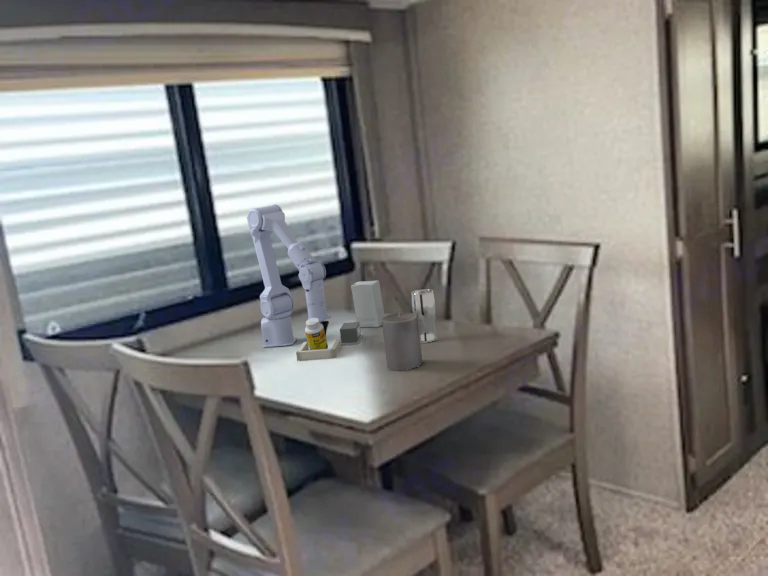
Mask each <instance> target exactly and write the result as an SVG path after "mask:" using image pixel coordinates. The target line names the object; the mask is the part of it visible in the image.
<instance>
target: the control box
mask: <svg viewBox="0 0 768 576" xmlns="http://www.w3.org/2000/svg"><path fill="white" fill-rule="evenodd" d="M339 335H340V340H341V347H342V346H343V347H344V346H354V345H355V346H356V345H360V343H361V341H362V339H363V337H364V334H361V327H360V324H359V322H357V321H351V322H343V323H342V325H341V326H340V329H339Z"/></svg>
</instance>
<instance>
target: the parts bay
mask: <svg viewBox="0 0 768 576" xmlns="http://www.w3.org/2000/svg"><path fill="white" fill-rule="evenodd" d="M341 348H342V346H341V338H339V339H335V341H334V342H333V344H332V346H331V348H328V349H320V350H310V349H309V345H308V341H303V343H301V345H300V347H299V348H298V349H297V350H296V352H295V353H296V361H298V360H299V361H311V360H322V359H335V358H337V355H338V354H339V352H340V350H341Z"/></svg>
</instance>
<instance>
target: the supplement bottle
mask: <svg viewBox="0 0 768 576" xmlns="http://www.w3.org/2000/svg"><path fill="white" fill-rule="evenodd" d="M310 322H311V324H310ZM312 322H317V326H318V329H315V328H316V323H312ZM305 326H306V327H305V328H304V333H305V337H306V340H307V341H306V342H308V348H309V350H320V349H329V346H328V345H329V343H328V340H327V335H326V336H325V332H324V327H323V325H322V324H321V323H320V322H319V319H318V318H311V319H308V318H307V320H306V321H305Z"/></svg>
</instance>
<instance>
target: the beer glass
mask: <svg viewBox="0 0 768 576" xmlns="http://www.w3.org/2000/svg"><path fill="white" fill-rule="evenodd" d="M410 293H411V310H412V313H415V314H416V315H417V319H418V328H419V337H420V344H426V343H427V344H428V342H430V343H433V342H432V341H434V342H435V340H436V341H437V340H438V337H437V334H436V329H435V323H436V310H437V309H436V299H435V294H434V290H433V289H428V288H427V289H426V288H425V289H417V290H413V291H411V292H410Z"/></svg>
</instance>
